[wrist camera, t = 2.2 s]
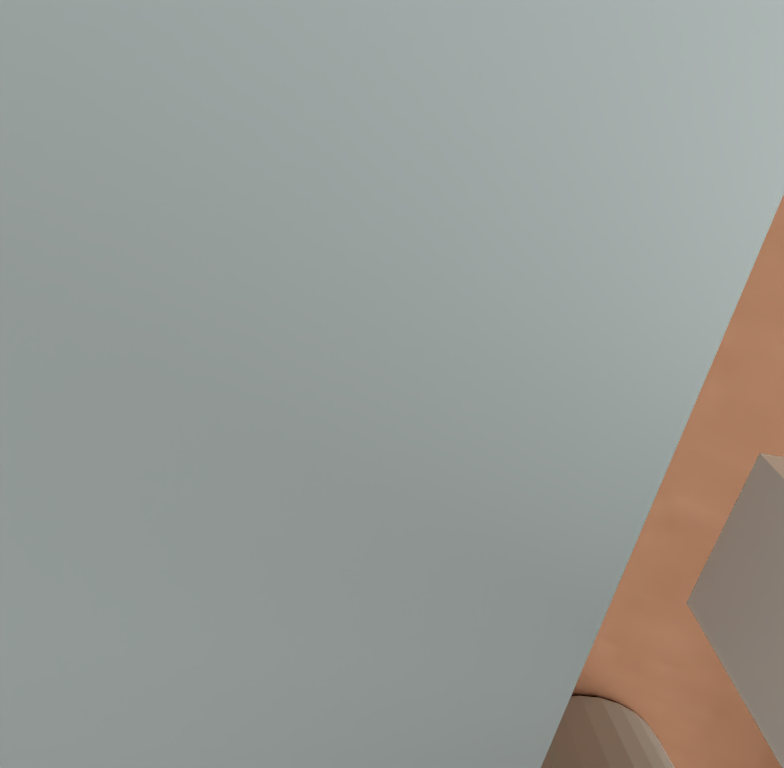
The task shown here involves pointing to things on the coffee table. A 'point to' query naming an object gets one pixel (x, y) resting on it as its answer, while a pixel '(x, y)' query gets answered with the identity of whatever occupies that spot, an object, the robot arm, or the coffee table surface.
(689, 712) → the coffee table surface
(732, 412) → the coffee table surface
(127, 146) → the beam
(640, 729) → the coffee cup
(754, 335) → the coffee table surface
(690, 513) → the coffee table surface
